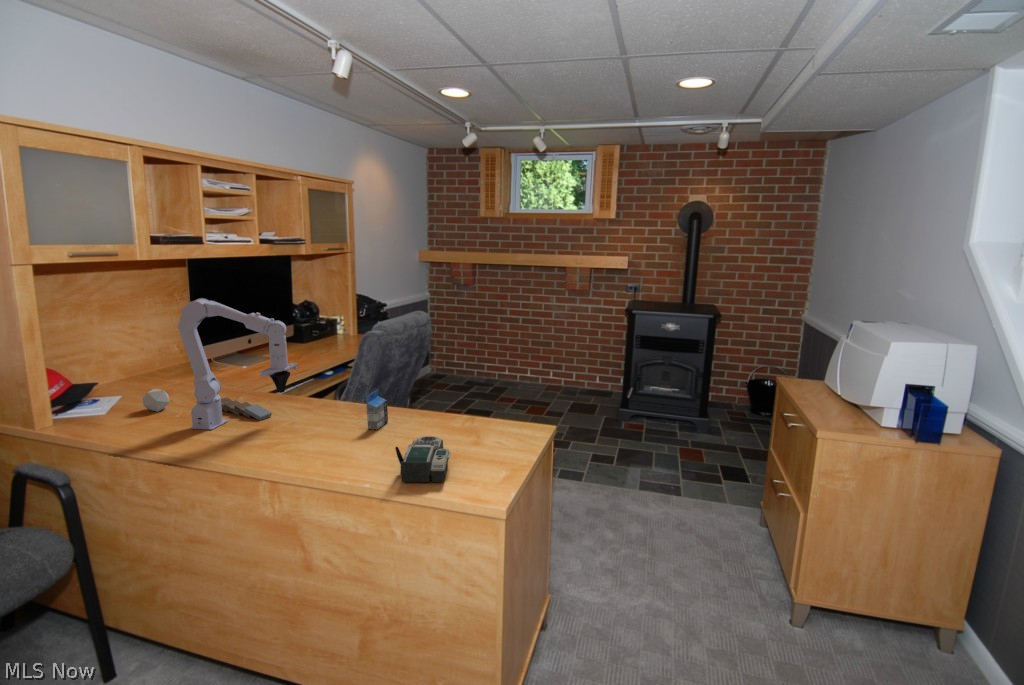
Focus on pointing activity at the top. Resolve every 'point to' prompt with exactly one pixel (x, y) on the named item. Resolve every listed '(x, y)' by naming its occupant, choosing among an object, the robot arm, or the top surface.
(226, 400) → the domino
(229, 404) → the domino
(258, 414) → the domino
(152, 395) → the die
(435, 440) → the communication device
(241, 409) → the domino
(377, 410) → the label tape box
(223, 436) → the top surface
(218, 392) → the robot arm
